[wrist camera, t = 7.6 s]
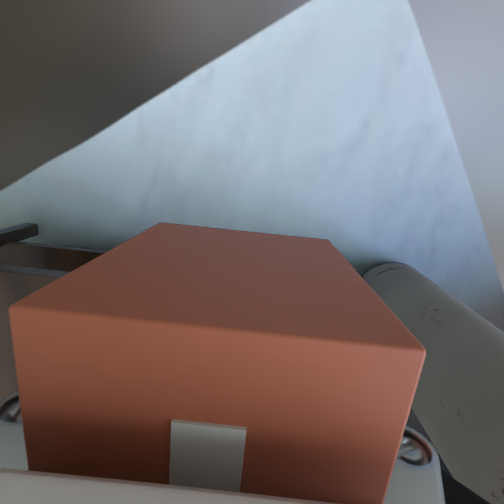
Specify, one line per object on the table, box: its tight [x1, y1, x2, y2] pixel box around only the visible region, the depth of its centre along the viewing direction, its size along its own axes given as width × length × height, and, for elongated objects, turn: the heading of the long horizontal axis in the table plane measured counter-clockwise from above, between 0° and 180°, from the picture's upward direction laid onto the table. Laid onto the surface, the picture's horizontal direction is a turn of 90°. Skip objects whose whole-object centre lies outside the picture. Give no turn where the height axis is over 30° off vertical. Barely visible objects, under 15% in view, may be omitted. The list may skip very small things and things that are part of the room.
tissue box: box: [8, 223, 426, 504], centre depth 9 cm, size 6×9×7 cm
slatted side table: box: [0, 223, 108, 401], centre depth 29 cm, size 18×12×13 cm, turn 84°
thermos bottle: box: [362, 263, 504, 504], centre depth 20 cm, size 8×8×28 cm
